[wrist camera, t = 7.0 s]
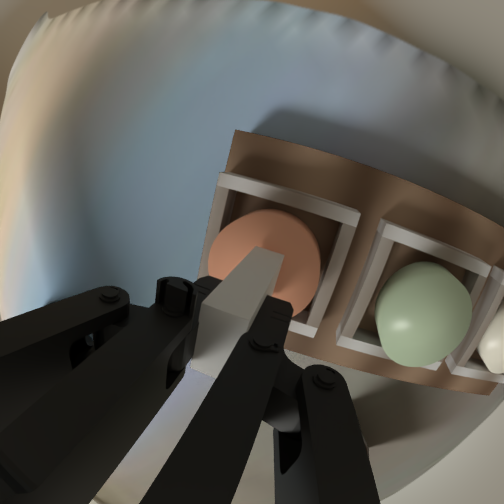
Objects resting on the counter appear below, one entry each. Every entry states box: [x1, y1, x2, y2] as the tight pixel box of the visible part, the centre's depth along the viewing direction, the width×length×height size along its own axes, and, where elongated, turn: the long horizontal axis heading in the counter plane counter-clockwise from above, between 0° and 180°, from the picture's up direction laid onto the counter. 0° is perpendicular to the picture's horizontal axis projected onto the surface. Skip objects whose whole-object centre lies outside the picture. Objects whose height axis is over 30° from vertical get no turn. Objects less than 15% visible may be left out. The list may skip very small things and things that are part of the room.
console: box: [197, 130, 504, 395], centre depth 18 cm, size 29×14×5 cm, turn 76°
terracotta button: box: [208, 209, 321, 317], centre depth 16 cm, size 6×6×2 cm
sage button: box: [374, 261, 472, 367], centre depth 14 cm, size 6×6×2 cm
